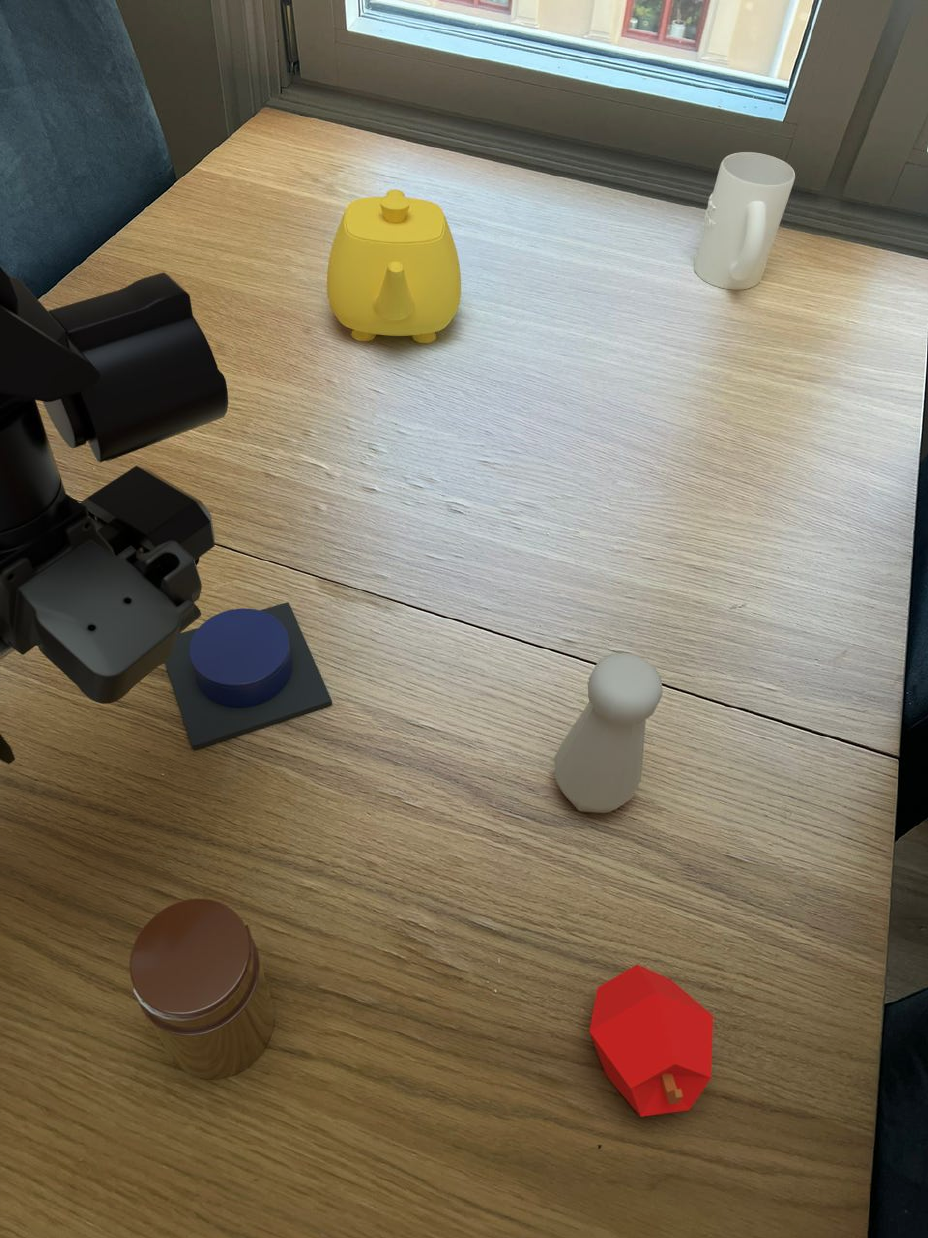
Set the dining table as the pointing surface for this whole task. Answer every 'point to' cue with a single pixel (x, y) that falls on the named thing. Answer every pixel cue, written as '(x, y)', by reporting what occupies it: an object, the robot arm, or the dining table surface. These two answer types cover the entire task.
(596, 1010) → the apple
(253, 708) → the mat
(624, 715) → the salt shaker
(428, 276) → the teapot
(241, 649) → the jar lid
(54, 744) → the dining table surface
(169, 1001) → the jam jar
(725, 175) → the mug
